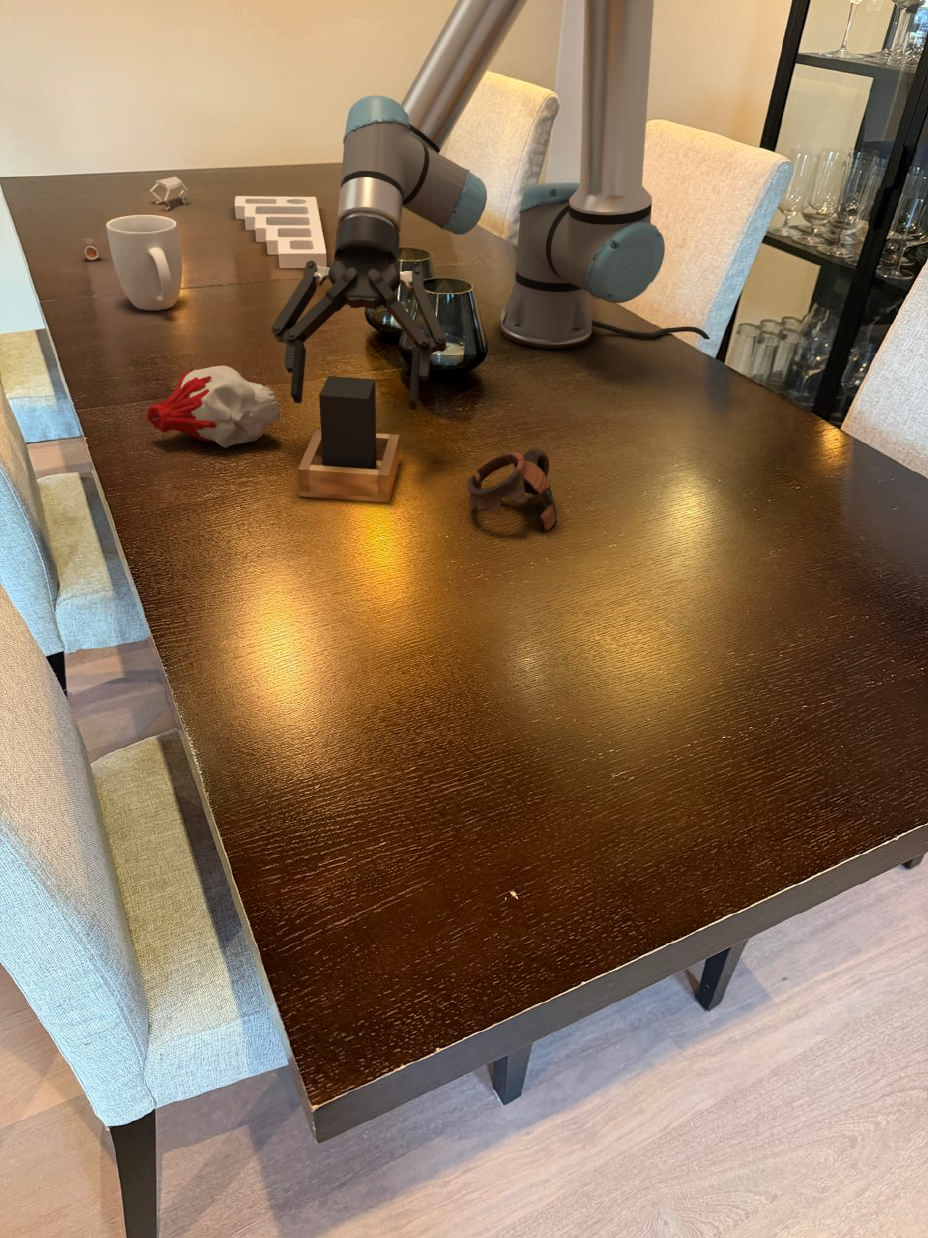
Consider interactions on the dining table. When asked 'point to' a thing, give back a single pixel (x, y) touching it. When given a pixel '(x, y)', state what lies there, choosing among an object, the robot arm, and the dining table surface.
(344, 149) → the robot arm
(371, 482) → the open wooden box
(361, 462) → the black block
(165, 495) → the dining table surface
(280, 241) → the holder
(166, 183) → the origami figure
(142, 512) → the dining table surface
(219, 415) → the white red lumpy piece
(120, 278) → the mug
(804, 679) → the dining table surface
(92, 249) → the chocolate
